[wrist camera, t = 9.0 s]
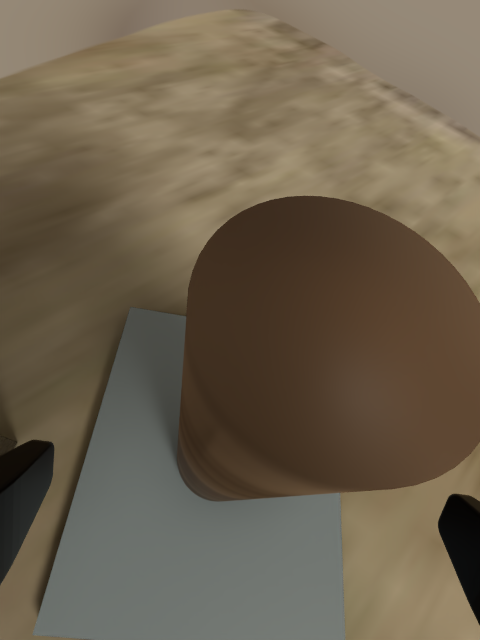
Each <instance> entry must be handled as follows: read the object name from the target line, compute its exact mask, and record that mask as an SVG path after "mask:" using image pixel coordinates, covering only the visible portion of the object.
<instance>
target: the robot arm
mask: <svg viewBox="0 0 480 640" xmlns="http://www.w3.org/2000/svg"><path fill="white" fill-rule="evenodd" d="M53 462H54V445H53V443H52V442H49V441H42V440H31V441H28V442H26V443H24V444H22V445H20V446H18V447H16V448H14V449H12V450H10V451H8V452H6V453H4V454H2V455H0V584H1V583H2V581H3V579H4V578H5V576H6V574H7V572H8V571H9V569H10V567H11V565H12V564H13V562H14V560H15V558H16V556H17V554H18V552H19V550H20V547H21V545H22V543H23V541H24V539H25V537H26V535H27V533H28V531H29V529H30V526H31V524H32V522H33V520H34V518H35V516H36V514H37V512H38V510H39V508H40V505H41V503H42V501H43V499H44V497H45V495H46V493H47V491H48V489H49V486H50V484H51V481H52V476H53ZM438 529H439V533H440V535H441V538H442V540H443V542H444V545H445V547H446V550H447V552H448V554H449V557H450V559H451V562H452V564H453V566H454V569H455V571H456V574H457V576H458V578H459V581H460V583H461V586H462V588H463V590H464V593H465V595H466V597H467V600H468V602H469V604H470V606H471V609H472V611H473V613H474V615H475V617H476V619H477V621H478V623H479V625H480V501H478V500H477V499H475V498H473V497H472V496H469V495H462V494H452V495H450V496H449V497H448V499H447V502H446V504H445V506H444V509H443V511H442V513H441V515H440V518H439V521H438Z"/></svg>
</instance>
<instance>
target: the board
mask: <svg viewBox="0 0 480 640" xmlns="http://www.w3.org/2000/svg"><path fill="white" fill-rule="evenodd" d="M185 329H186V316H181V315H175V314H169V313H163V312H158V311H152V310H146V309H140V308H134V307H130V310H129V313H128V317H127V320H126V323H125V327H124V330H123V333H122V337H121V340H120V344H119V347H118V350H117V354H116V357H115V360H114V364H113V367H112V370H111V374H110V377H109V380H108V384H107V387H106V390H105V394H104V397H103V400H102V404H101V407H100V411H99V414H98V417H97V421H96V424H95V427H94V431H93V434H92V437H91V441H90V444H89V447H88V451H87V454H86V457H85V461H84V464H83V468H82V471H81V474H80V478H79V481H78V484H77V488H76V491H75V494H74V498H73V501H72V504H71V508H70V511H69V514H68V518H67V521H66V525H65V528H64V531H63V535H62V538H61V541H60V545H59V548H58V551H57V555H56V558H55V561H54V565H53V568H52V571H51V575H50V578H49V581H48V585H47V588H46V592H45V595H44V598H43V602H42V605H41V608H40V612H39V615H38V618H37V622H36V625H35V628H34V632H33V635H39V636H52V637H66V638H80V639H93V640H345V620H344V592H343V563H342V535H341V506H340V493H331V494H317V495H303V496H290V497H276V498H262V499H249V500H235V501H220V502H215V501H209V500H206V499H203V498H201V497H199V496H197V495H196V494H194V493H193V492H192V491H191V490H190V489H189V488H188V487H187V486H186V485H185V483H184V481H183V480H182V478H181V476H180V473H179V470H178V465H177V446H178V432H179V417H180V402H181V388H182V373H183V358H184V343H185Z"/></svg>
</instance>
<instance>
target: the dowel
mask: <svg viewBox="0 0 480 640" xmlns="http://www.w3.org/2000/svg"><path fill="white" fill-rule="evenodd" d="M479 442H480V303H479V302H478V300H477V298H476V296H475V295H474V293H473V292H472V290H471V288H470V287H469V285H468V284H467V282H466V281H465V280H464V278H463V277H462V276H461V275H460V273H459V272H458V271H457V270H456V268H455V267H454V266H453V265H452V264H451V263H450V262H449V261H448V260H447V259H446V258H445V257H444V256H443V254H441V253H440V252H439V251H438V250H437V249H436V248H435V247H434V246H432V245H431V244H430V243H429V242H428V241H426V240H425V239H424V238H422V237H421V236H420V235H418V234H417V233H416V232H414V231H413V230H411V229H410V228H408V227H407V226H405V225H403V224H402V223H400V222H398V221H397V220H395V219H393V218H391V217H389V216H387V215H385V214H383V213H380V212H378V211H376V210H373V209H371V208H369V207H365V206H362V205H359V204H356V203H353V202H349V201H345V200H340V199H336V198H328V197H321V196H294V197H285V198H279V199H274V200H270V201H267V202H263V203H260V204H257V205H255V206H253V207H250V208H248V209H246V210H244V211H242V212H240V213H239V214H237V215H236V216H234V217H233V218H231V219H230V220H228V221H227V222H226V223H225V224H224V225H223V226H221V227H220V228H219V229H218V230H217V231H216V232H215V234H214V235H213V236H212V237H211V238H210V239H209V240H208V242H207V243H206V245H205V247H204V248H203V250H202V251H201V253H200V255H199V257H198V259H197V262H196V264H195V266H194V269H193V271H192V275H191V280H190V284H189V288H188V300H187V314H186V329H185V343H184V358H183V373H182V388H181V402H180V417H179V432H178V446H177V465H178V470H179V473H180V476H181V478H182V480H183V481H184V483H185V485H186V486H187V487H188V488H189V489H190V490H191V491H192V492H193V493H194V494H196V495H197V496H199V497H201V498H203V499H206V500H209V501H215V502H220V501H235V500H249V499H262V498H276V497H290V496H303V495H317V494H331V493H344V492H358V491H372V490H385V489H396V488H402V487H408V486H414V485H418V484H420V483H423V482H426V481H429V480H432V479H435V478H437V477H439V476H441V475H442V474H444V473H446V472H448V471H449V470H451V469H453V468H455V467H456V466H457V465H458V464H459V463H460V462H462V461H463V460H464V459H465V458H466V457H467V456H469V455H470V454H471V452H472V451H473V450H474V449H475V447H476V446H477V445H478V444H479Z"/></svg>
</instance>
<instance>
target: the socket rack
mask: <svg viewBox="0 0 480 640" xmlns="http://www.w3.org/2000/svg"><path fill="white" fill-rule="evenodd" d="M16 443H17V442H15V441H13V440H10V439H8V438H5V437H2V436H0V455H2V454H4V453H6V452H8V451H10V450H12V449H14V447H15V445H16Z"/></svg>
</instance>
